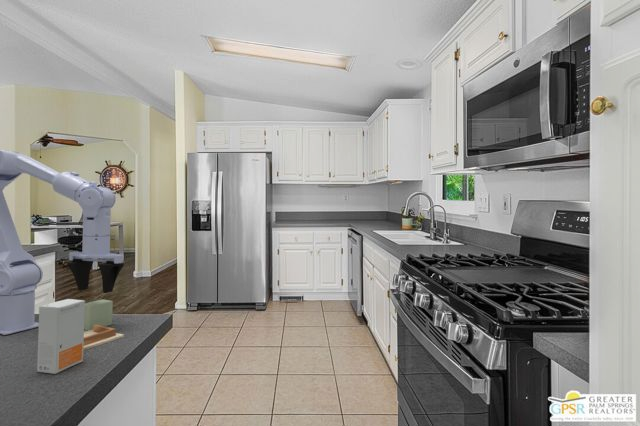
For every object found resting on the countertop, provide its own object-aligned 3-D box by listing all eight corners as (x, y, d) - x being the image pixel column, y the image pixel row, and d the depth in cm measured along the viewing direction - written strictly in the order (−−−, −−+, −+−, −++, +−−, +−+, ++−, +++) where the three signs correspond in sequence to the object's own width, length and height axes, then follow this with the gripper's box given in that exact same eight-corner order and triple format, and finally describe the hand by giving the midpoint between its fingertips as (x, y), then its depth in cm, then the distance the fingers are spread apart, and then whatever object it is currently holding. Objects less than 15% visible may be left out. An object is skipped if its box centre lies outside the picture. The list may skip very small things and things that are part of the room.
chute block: (78, 328, 89) (79, 304, 89) (102, 322, 94) (102, 299, 94) (89, 331, 87) (89, 306, 87) (112, 324, 93) (112, 301, 93)
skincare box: (56, 375, 64) (57, 307, 64) (36, 372, 65) (37, 306, 65) (84, 361, 70) (85, 299, 70) (66, 359, 71) (67, 298, 71)
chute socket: (40, 346, 77) (41, 337, 77) (95, 330, 88) (96, 322, 88) (70, 355, 73) (70, 345, 73) (124, 336, 84) (124, 328, 84)
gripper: (57, 235, 86) (56, 291, 86) (107, 237, 83) (105, 296, 83) (84, 233, 93) (82, 286, 93) (130, 236, 89) (129, 290, 89)
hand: (95, 290), depth 88 cm, fingers open, 7 cm apart
